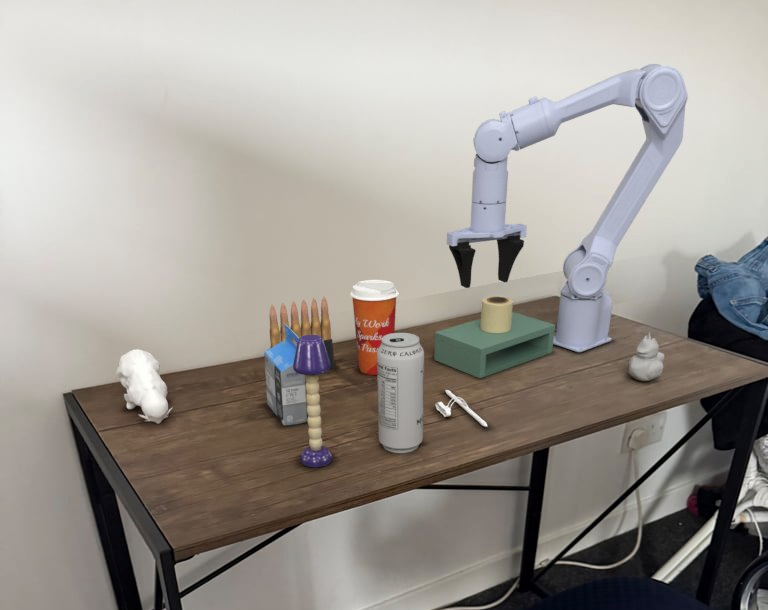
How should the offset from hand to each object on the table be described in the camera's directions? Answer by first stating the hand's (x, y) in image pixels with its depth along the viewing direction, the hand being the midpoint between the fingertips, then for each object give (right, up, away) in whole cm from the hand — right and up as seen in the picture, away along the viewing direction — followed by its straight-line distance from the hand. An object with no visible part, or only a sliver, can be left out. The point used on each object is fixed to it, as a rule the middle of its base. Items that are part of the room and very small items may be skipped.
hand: (484, 283), depth 132 cm
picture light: (-7, -25, -20) cm, 33 cm away
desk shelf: (+1, -13, -1) cm, 13 cm away
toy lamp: (-26, -33, -32) cm, 53 cm away
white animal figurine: (-53, -25, -19) cm, 61 cm away
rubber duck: (+25, -19, -10) cm, 33 cm away
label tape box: (-32, -25, -20) cm, 45 cm away
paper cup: (-19, -16, -5) cm, 25 cm away
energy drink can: (-15, -31, -29) cm, 45 cm away
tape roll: (+1, -9, -4) cm, 10 cm away
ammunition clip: (-31, -17, -6) cm, 36 cm away
